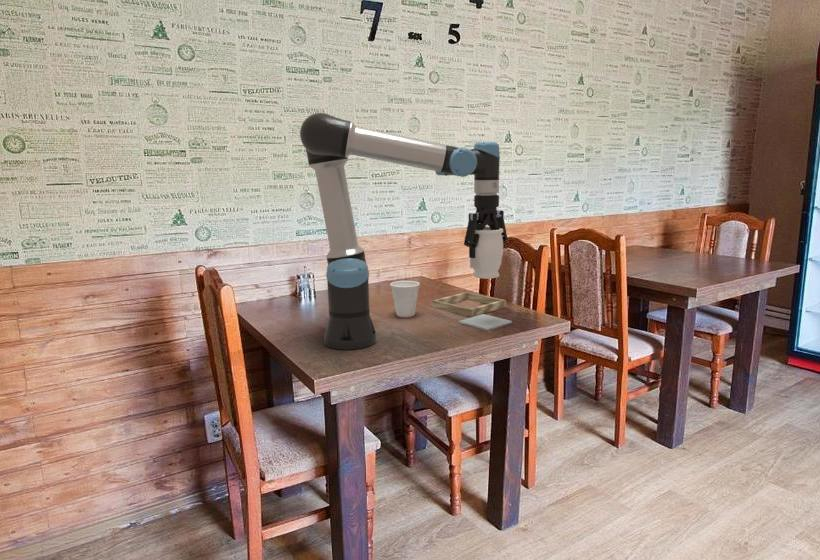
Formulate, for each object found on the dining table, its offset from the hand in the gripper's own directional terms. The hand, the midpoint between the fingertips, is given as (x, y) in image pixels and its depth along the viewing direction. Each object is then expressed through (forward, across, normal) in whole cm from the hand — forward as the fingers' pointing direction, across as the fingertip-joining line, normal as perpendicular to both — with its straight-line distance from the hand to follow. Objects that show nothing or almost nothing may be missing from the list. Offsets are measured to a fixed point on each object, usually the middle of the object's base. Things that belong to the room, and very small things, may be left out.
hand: (486, 265), depth 173 cm
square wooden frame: (+19, +11, +17) cm, 27 cm away
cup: (+19, -12, +25) cm, 34 cm away
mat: (+19, 0, 0) cm, 19 cm away
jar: (+4, 0, 0) cm, 4 cm away
